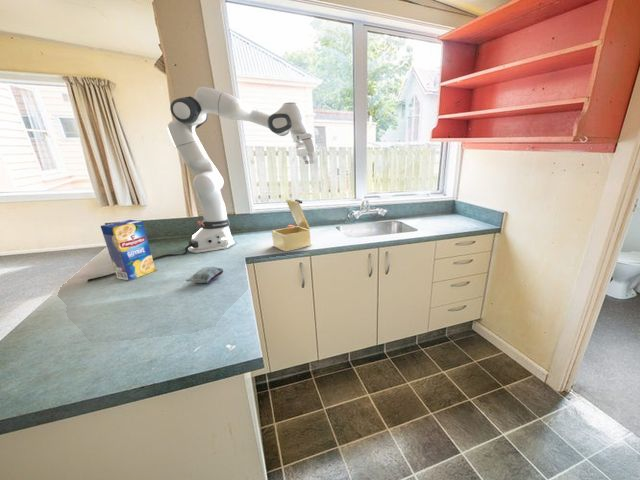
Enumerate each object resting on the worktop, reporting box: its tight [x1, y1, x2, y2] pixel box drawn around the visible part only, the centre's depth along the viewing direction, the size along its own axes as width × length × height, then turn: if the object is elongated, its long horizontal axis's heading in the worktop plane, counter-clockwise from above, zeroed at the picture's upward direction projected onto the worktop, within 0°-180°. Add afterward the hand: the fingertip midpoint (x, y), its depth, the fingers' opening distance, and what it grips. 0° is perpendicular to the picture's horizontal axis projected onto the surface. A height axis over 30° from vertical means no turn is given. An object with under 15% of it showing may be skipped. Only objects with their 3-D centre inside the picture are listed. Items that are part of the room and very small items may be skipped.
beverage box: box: [100, 219, 157, 281], centre depth 121 cm, size 7×11×22 cm, turn 164°
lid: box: [285, 198, 311, 231], centre depth 162 cm, size 16×13×5 cm
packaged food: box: [185, 266, 224, 284], centre depth 119 cm, size 9×12×5 cm
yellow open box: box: [271, 225, 312, 252], centre depth 162 cm, size 16×13×9 cm
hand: (309, 163), depth 158 cm, fingers open, 8 cm apart
